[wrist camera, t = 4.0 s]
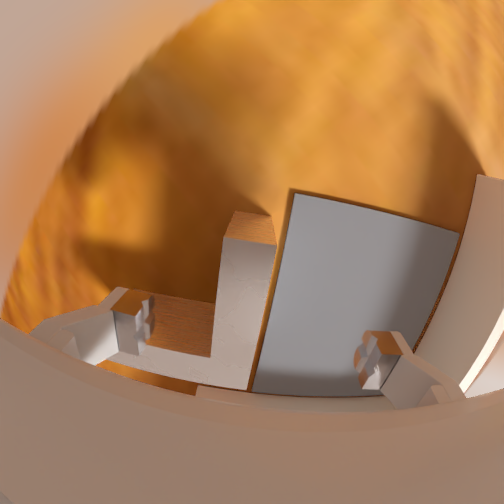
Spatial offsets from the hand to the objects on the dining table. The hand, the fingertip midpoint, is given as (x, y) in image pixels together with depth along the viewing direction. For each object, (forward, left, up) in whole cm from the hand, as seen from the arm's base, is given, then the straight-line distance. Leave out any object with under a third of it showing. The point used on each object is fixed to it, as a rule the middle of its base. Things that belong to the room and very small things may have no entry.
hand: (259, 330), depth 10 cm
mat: (+7, -3, -6) cm, 10 cm away
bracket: (-3, -1, -7) cm, 7 cm away
